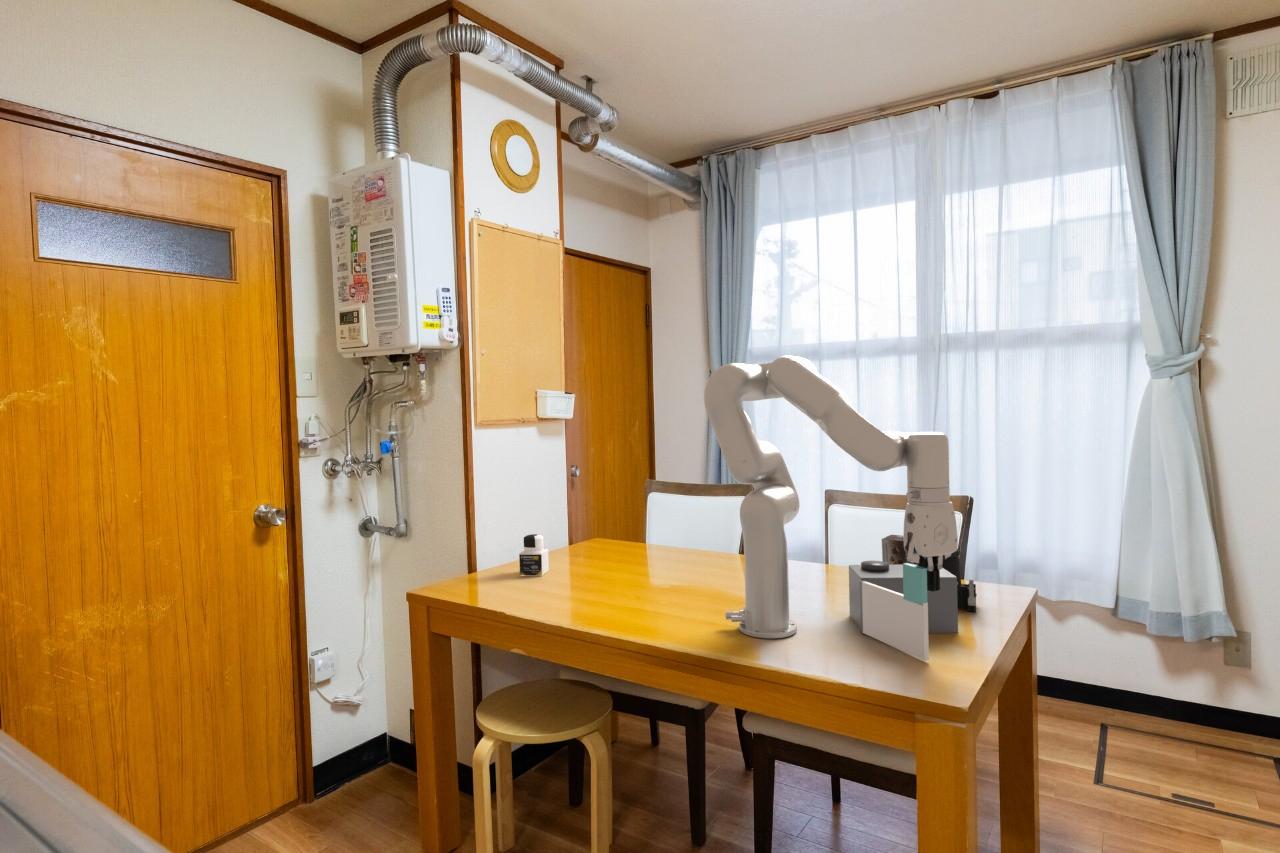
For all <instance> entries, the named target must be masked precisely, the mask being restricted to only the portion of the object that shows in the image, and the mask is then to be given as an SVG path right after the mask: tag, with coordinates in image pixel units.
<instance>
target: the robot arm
mask: <svg viewBox="0 0 1280 853" xmlns="http://www.w3.org/2000/svg"><path fill="white" fill-rule="evenodd" d="M817 370H818V369H817V368H816V366H815V365H814V364H813V363H812V361H810V360H809V359H807V358H804V357H802V356H796V355H783V356H780V357H777V358H776V359H774V360H773V361H772V362H766V363H759V364H751V363H750V364H749V363H742V362H741V363H740V362H731V363H730V362H729V363H726V364H724V365H721V366H719V367H718V368H717V369H716V370H714V371H713V372H712V374H711V375H710V377H709V378H708V379H707V382H706V385H705V388H704V393H703V400H704V401H703V402H704V407H705V408H704V409H705V411H706V414H707V418H708V419H709V422H710V424H711V427H712V429H713V431H714V434H715V437H716V439H717V442H718V446H719V448H720V451H721V453H722V456H723V458H724V460H725V461H724V462H725V463H726V466H727V470H728V472H729V474H730V476H731V478H732V479H733V480H734V481H735V482H736V483H738V484H740V485H752V486H753V490H750V491H749V493H747V495H745V496H744V498H743V499H742V501H741V503H740V507H739V521H740V525H741V526H740V527H741V531H742V538H743V552H744V553H743V558H744V580H745V581H744V586H745V587H744V591H745V592H744V595H745V596H744V597H745V605H743V609H739V610H736V611H735V610H734V611H733V610H725V614H724V615H725V620H730V621H731V623H737V622H739V624H738V629H739V631H740V632H741V633H743V634H744V635H747V636H749V637H754V638H758V639H782V638H786V637H790V636H793V635H794V634H795V633H797V630H798V628H797V623H796V622H794V621H792V620H791V619H790V597H789V596H790V590H789V588H790V587H789V584H790V583H789V553H788V542H787V537H786V531H785V525H787V524H788V523H790V522H792V521H793V520H794V519H795V518H796V517H797V515H798V514H799V511H800V499H799V495H798V492H797V489H796V486H795V484H794V482H793V479H792V477H791V476H792V475H790V471H789V469H788V467H787V465H786V462H785V460H784V457H783V455H782V454H781V452H780V451H779V449H778V447H776V446H775V445H774V444H772V443H771V442H769V441H767V440H759V438H758V436H757V433H756V431H755V429H754V426H753V423H752V421H751V419H750V417H749V415H748V414H747V412H746V411H745V410H744V408H743V405H742V402H749V401H750V402H753V401H755V402H757V401H763V400H769V399H772V400H773V399H781V398H783V399H784V400H786V401H787V402H788V403H789V404H791V405H793V407H795V408H796V409H798V410H799V411H800V412H801V413H802V414H804V415H806V417H808V418H809V419H811V420H812V421H813V422H814V423H816V425H818V427H819V428H820V429H821V431H822V432H824V434H826V435H827V436H828V437H829V439H831V440H832V441H833V442H834V444H836V446H838V447H840V449H841V450H843V451H844V452H845V453H846V454H847V455H850V456H851V457H852V458H853V459H854V460H855V461H857V462H858V463H860V464H861V465H863V467H865V468H867V469H868V470H872V471H875V472H886V471H890V470H891V469H895V468H900V467H906V479H907V482H906V483H907V484H906V486H907V488H906V489H907V490H906V491H907V492H906V495H905V496H906V498H907V503H906V505H905V511H904V518H903V519H904V520H903V536H904V549H905V551H906V552H907V553H908V556H907V560H908V561H910V562H914V563H916V564H917V565H918V566H920V567H923V568H927V590H929V591H932V592H934V591H939V590H940V570H941V569H942V563H943V561H944V559H946V558H948V557H950V556H951V553H954V552H955V551H956V550H957V549H958V546H959V543H958V542H959V541H958V540H959V538H958V527H957V520H956V513H955V508H954V505H953V502H952V501H951V499H950V495H951V494H950V493H951V492H950V455H949V454H950V453H949V452H950V451H949V438H948V435H946V434H945V433H943V432H939V431H920V432H919V431H918V432H901V431H895V430H894V431H893V430H887V431H886V430H885V431H882V430H881V429H880V428H878V427H877V426H876V425H874V424H872V423H871V422H870V421H869V420H868V419H866V418H865V417H864V416H862V415H861V414H860V413H859V412H858V411H857V410H856V409H855V408H854V407H853V406H852V405H851V403H850V401H849V399H848V395H847V394H846V393H845V392H844V391H843V390H842V389H841V388H839V387H838V386H837V385H835V384H833V383H832V381H829V380H828V379H827V378H825V377H824V376H822V375H821V374H820V373H818V371H817ZM925 558H926V559H925Z"/></svg>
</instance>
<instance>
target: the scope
mask: <svg viewBox="0 0 1280 853" xmlns="http://www.w3.org/2000/svg"><path fill="white" fill-rule="evenodd" d="M960 555H961V550H960V549H958V548H957V550H956V551H955V552H954V553H951V556H950V557H948V558H946V559H944V561H943V563H942V568H944V569H945V570H947V571H948V572H950V573H951V574H953V575H954V576H956V577H957V605H958V610H967V612H974V613H977V596H978V594H977V591H976V590H977V588H976V587H977V585H976V583H975V582H974V581H975V580H974V579H968V584H967V583H962V578H961V563H960V557H959V556H960Z"/></svg>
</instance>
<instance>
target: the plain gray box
mask: <svg viewBox="0 0 1280 853" xmlns="http://www.w3.org/2000/svg"><path fill="white" fill-rule="evenodd" d="M913 565H916V566H918V565H917V564H913ZM860 580H864V581H866V582H869V583H872V584H875V585H878V586H881V587H883V588H886V589H889V590H892V591H895V592H898V593H901V594H903V565H889V563H887V562H883V560H882V561H881V560H864V561H861V562H860V564H848V587H849V588H848V589H849V590H848V593H849V594H848V598H849V599H848V600H849V602H848V603H849V617H850V618H851V620H852V621H853V622H854V624H855V625H856V626H857V628H858V629H859V630H860V611H859V581H860ZM927 603H928V634H959V620H958V619H959V615H958V611H959V609H958V605H957V577H956V576H954V575H953V574H951V573H950V572H948V571H947V570H945V569H944V568H942V569H941V570H940V590H939V591H934V592H932V591H929V590H927Z"/></svg>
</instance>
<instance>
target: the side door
mask: <svg viewBox="0 0 1280 853" xmlns="http://www.w3.org/2000/svg"><path fill="white" fill-rule="evenodd" d="M859 611H860V629H859V632H860V633H862V634H865V635H867V636H869V637H870V638H874V639H876V640H878V641H880V642H882V643H885V644H886V645H889V646H891V647H893V648H895V649H897V650H900V651H902V652H904V653H907V654H909V655H911V656H913V657H915V658H918V659H919V660H922V661H924V662H926V661H927V662H928V661H929V660H930V651H929V648H930V647H929V646H930V645H929V643H930V642H929V633H928V603H927V568H923V567H920V566H916V565H913V564H909V563H905V564H903V594H901V593H898V592H895V591H892V590H889V589H886V588H883V587H881V586H878V585H875V584H872V583H869V582H866V581H864V580H860V581H859Z"/></svg>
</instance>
